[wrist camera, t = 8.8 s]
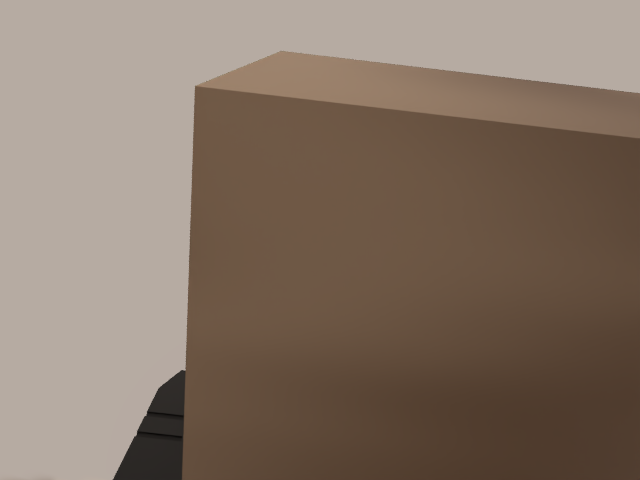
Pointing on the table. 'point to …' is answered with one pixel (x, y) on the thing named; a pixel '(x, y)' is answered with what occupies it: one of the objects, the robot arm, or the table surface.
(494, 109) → the walnut block
